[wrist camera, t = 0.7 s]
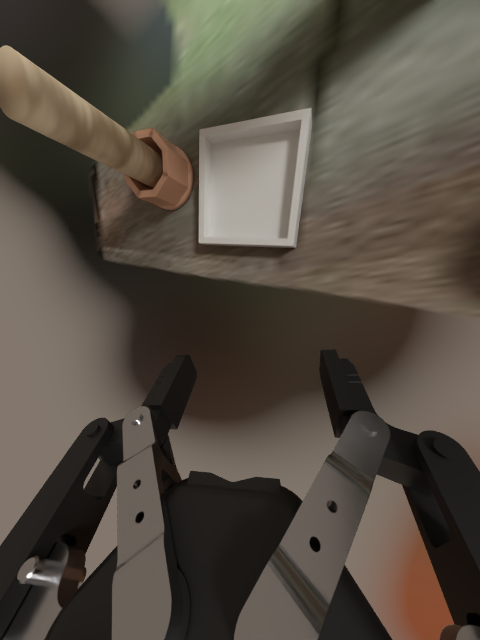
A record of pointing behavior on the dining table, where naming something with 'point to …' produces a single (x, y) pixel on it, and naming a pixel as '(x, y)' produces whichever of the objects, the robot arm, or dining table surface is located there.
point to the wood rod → (71, 119)
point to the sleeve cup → (165, 174)
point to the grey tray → (253, 180)
